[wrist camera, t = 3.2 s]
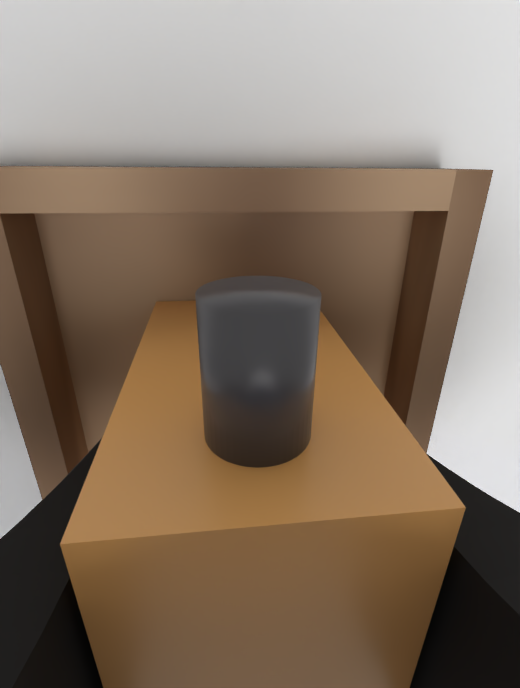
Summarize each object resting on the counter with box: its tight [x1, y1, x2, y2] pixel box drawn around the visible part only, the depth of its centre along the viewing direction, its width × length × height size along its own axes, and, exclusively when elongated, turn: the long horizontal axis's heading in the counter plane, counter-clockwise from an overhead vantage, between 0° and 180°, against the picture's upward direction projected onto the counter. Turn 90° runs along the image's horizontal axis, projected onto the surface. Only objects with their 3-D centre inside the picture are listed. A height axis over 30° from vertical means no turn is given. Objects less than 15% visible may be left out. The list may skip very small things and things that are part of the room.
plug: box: [60, 276, 466, 688], centre depth 8 cm, size 4×7×7 cm, turn 179°
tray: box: [0, 166, 493, 500], centre depth 11 cm, size 11×12×2 cm
